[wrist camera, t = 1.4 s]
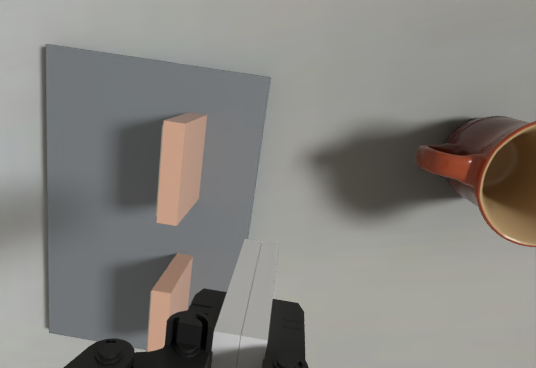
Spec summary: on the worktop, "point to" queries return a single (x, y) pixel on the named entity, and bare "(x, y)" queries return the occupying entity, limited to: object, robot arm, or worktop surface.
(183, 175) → the tile
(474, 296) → the worktop surface
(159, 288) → the tile
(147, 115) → the mat
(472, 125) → the mug
